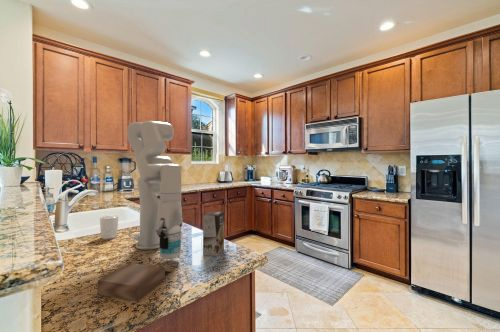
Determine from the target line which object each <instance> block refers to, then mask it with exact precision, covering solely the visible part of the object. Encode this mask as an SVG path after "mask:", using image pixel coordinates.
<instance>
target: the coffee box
mask: <svg viewBox="0 0 500 332" xmlns="http://www.w3.org/2000/svg"><path fill="white" fill-rule="evenodd" d="M202 217H203V219H202V221H203V222H202V225H203V227H202V228H203V229H202V255H203V256H204V255H205V256H213V257H214V256H215V257H217V256H219V254H221V253H222V251H223V250H224V249H225V211H223V210H222V211H220V210H219V211H218V210H217V211H216V210H215V211H213V210H211V211H209V212H207V213H205V214H203V216H202Z"/></svg>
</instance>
